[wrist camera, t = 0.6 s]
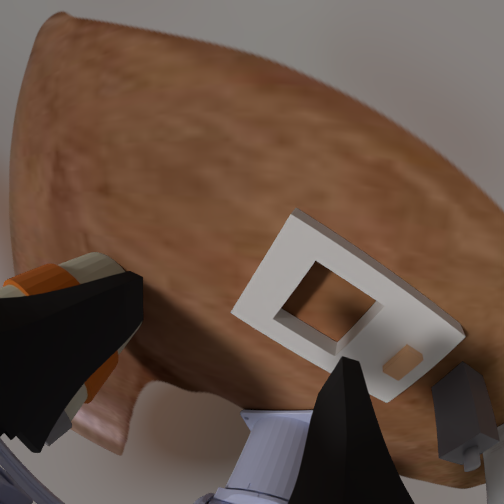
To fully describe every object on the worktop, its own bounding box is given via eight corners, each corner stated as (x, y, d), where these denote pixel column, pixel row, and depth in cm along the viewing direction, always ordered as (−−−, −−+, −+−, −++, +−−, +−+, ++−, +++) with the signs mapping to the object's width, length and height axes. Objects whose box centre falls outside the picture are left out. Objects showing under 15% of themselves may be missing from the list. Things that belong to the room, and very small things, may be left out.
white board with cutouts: (460, 323, 15) (467, 342, 13) (387, 389, 19) (387, 408, 17) (296, 207, 16) (288, 216, 15) (238, 301, 20) (226, 317, 18)
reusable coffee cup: (125, 220, 21) (-41, 312, 8) (179, 350, 25) (79, 472, 12) (56, 245, 26) (-50, 307, 13) (101, 342, 30) (19, 418, 17)
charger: (482, 375, 16) (502, 457, 8) (453, 399, 17) (463, 480, 10) (462, 361, 16) (483, 451, 9) (431, 387, 18) (439, 475, 10)
